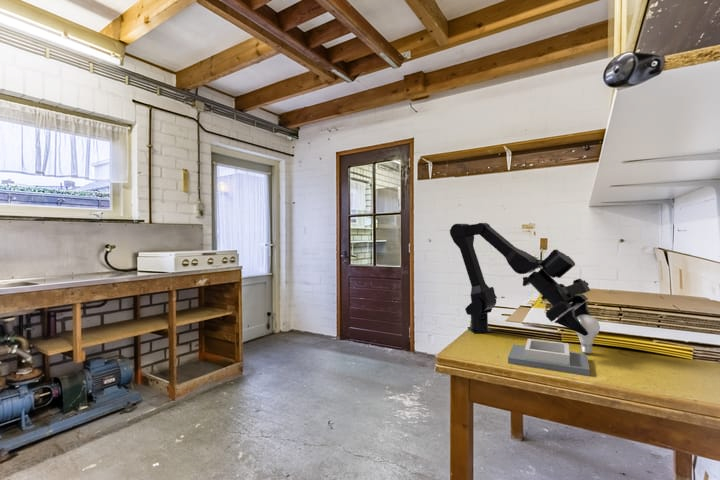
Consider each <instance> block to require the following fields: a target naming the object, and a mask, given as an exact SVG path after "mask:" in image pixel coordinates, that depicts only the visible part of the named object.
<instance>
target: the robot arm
mask: <svg viewBox="0 0 720 480" xmlns="http://www.w3.org/2000/svg"><path fill="white" fill-rule="evenodd" d="M449 234H450V237H451V239H452V241H453V243H454V244H455V245H456V246H457V247H458V249H459V250H460V253H461V257H462V260H463V263H464V266H465V269H466V272H467V276H468V280H469V282H470V286H471V288H470V289H471V290H470V300H471V301H470V303H469V304H468V305H467V306H466V307H465V313H466V315H469V316H470V326H467V330H469V331H470V332H471V333H473V334H484V333H488V334H489V333H493V331H492V329H490V328H489V323H488V322H489V321H488V320H489V317H488V313H492V310H493V308H495V306H496V304H497V299H498V297H497V296H496V294H495V288H494V286H491V287H490V286H489V285H488V284H487V283H486V281H485V278H484V274H483V272H482V269H481V265H480V262H479V259H478V256H477V254H476V250H475V247H474V242H475V236H478V235H479V236H480V237H481V238H483V239H484V240H485V241H486V242H487V243H488V244H489V245H491V246H492V247H493V249H495V250H496V251H497V252H499V253H500V254H501V255H502V256H504V258H505V259H506V261H507V264H508V265H509V266H510V268H511V269H512V271H514V272H515V273H516V274H517V275H525V274H530V275H528V276H523V277H522V286H523V287H527V286H529V285H531V286H532V287H533V288H534V289H535V290H536V291H537V292H538V293H539V294H540V295H541V297H540V299H542V300H543V301H545V300H546V301H547V303H549V304H550V306H552V307H551V308H549V309H548V310H547V311H546V312H545V317H546V318H547V320H549V321H550V322H554V323H555V324H558V325H559V326H560V325H561V326H563V327H565V328H567V329H570V330H572V331H574V332H575V331H576V332H578V333H580V334H582V335H584V336H586V335H588V332H587V331H586V329H585V328H584V327H583V325H582V324H581V323H580V322H579V320H578V319H577V318H576V317H577V316H579V315H583V314H586V315H590V316H592V315H591V313H590V311H589V308H588V307H589V305H588V304H589V298H588V297H587V296H586V295H585V293H588V292H590V291H591V289H590V287H589V283H588V282H587V281H586V280H583V279H582V278H577V279H574V280H573V281H572V284H570V285H564V284H563V283H558V282H557V281H556V280H555V279H554V278H558V279H560V278H562V277H563V276H564V275H565V274H566V273H567V272H569V271H570V270H571V269H573V268H574V267H575V266H576V262H575V261H574V260H573V259H572V258H571V257H570V255H567V254H565V253H563V252H561V251H560V250H559V249H553V250H552V251H551V252H550V253H549V254H548V255H547V257H546V258H544V259H538V258H536V257H535V256H534V255H532V254H530V253H528V252H526V251H525V250H523V249H519V248H518V247H516V246H515V245H513V244H512V243H511V242H510V241H508V240H507V239H506V238H505V237H503V236H502V235H501V234H500V233H499V232H498V231H496V230H495V229H494V228H493V227H491V225H490V224H489V223H487V222H478V223H474V224H473V223H472V224H468V223H454V224H453V225H452V226H451V227H450V229H449ZM537 269H539V270H538V271H536V270H537ZM576 332H575V333H576Z"/></svg>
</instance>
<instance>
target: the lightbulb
mask: <svg viewBox="0 0 720 480" xmlns="http://www.w3.org/2000/svg"><path fill="white" fill-rule="evenodd" d="M576 318H577V319H578V320H579V322H580V323H581V324H582V325H583V327H584V328H585V329H586V331H587V332H588V335H586V336H584V335H582V334H580V333H578V332H576V331H574V332H575V333H576V335H577V336H578V340H579V342H580V345H581V346H580V351H581V353H584V354H586V355H589V354H592V353H593V343H594V340H595V338H596V336H597V335H598V334H599V332H600V328H601V325H600V323H599V320H597V319H596V317H594V316H592V315H591V316H590V315H586V314H583V315H579V316H577V317H576Z"/></svg>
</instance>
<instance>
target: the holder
mask: <svg viewBox="0 0 720 480" xmlns="http://www.w3.org/2000/svg"><path fill="white" fill-rule="evenodd" d="M587 355H588V354H585V353H583V352H576V351H575V352H574V351H570V346H569V343H567V342H560V341H559V342H558V341H549V340H544V339H543V340H542V339H532V338H527V341H526V344H525V345H523V344H522V345H520V344H512V346H511V348H510V351H509V354H508V357H507V363H508V364H510V365H511V364H512V365H518V366H523V367H528V368H529V367H530V368H537V369H545V370H548V371H549V370H550V371H556V372H560V373H561V372H562V373H568V374H573V375H575V374H576V375H582V376H587V377H588V376H589V377H590V375H591V372H590V365H589V360H588V356H587Z"/></svg>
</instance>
